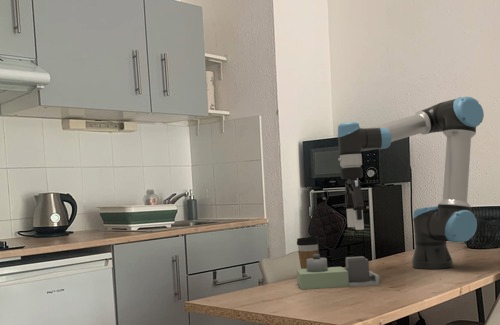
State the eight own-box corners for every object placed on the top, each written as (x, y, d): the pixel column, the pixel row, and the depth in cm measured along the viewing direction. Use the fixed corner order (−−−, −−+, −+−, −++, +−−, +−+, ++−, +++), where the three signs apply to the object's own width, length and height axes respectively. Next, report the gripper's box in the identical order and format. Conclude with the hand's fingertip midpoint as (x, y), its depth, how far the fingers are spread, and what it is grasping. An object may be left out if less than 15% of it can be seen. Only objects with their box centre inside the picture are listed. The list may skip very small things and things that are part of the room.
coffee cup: (320, 278, 207) (317, 237, 208) (297, 279, 209) (294, 238, 209) (322, 274, 215) (319, 235, 216) (300, 275, 217) (297, 236, 218)
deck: (342, 280, 199) (340, 250, 200) (349, 286, 187) (346, 254, 188) (297, 283, 199) (295, 253, 199) (301, 289, 187) (299, 257, 187)
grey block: (366, 281, 195) (365, 255, 196) (369, 283, 191) (368, 257, 191) (346, 282, 195) (345, 257, 196) (349, 284, 191) (347, 258, 191)
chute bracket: (370, 278, 200) (370, 270, 200) (379, 284, 187) (379, 275, 187) (342, 280, 200) (341, 272, 200) (349, 286, 187) (348, 277, 187)
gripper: (334, 169, 208) (338, 226, 207) (347, 166, 183) (352, 231, 182) (354, 167, 208) (358, 225, 207) (370, 164, 183) (375, 230, 182)
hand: (355, 228), depth 194 cm, fingers open, 13 cm apart
